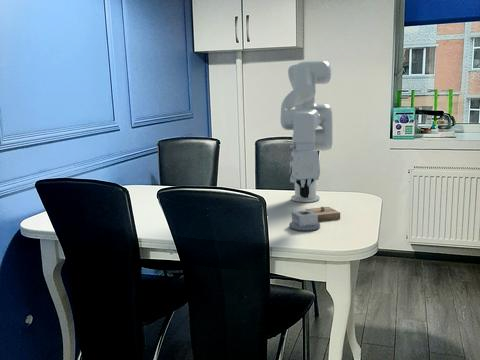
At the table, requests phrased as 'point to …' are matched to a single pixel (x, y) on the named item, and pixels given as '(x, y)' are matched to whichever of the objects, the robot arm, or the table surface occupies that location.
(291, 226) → the hub
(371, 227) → the table surface
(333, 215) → the stand
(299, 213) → the square hollow frame
